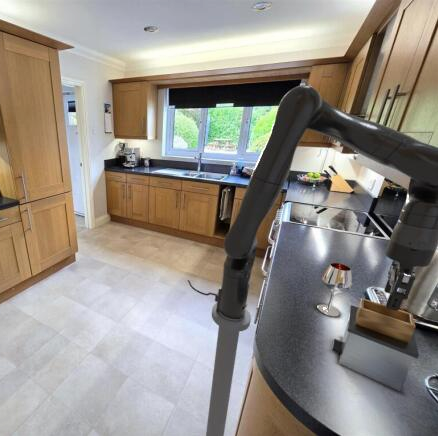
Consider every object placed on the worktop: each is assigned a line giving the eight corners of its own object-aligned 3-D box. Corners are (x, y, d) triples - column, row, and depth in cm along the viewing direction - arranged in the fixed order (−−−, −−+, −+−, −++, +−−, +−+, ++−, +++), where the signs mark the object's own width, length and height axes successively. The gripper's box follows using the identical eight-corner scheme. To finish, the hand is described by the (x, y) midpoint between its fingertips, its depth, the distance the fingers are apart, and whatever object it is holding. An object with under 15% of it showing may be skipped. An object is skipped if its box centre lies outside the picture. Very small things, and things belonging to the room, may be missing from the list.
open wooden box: (355, 323, 65) (360, 308, 64) (356, 312, 69) (361, 297, 68) (408, 343, 59) (415, 326, 57) (405, 329, 63) (412, 313, 62)
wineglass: (338, 307, 90) (351, 264, 85) (345, 321, 83) (359, 275, 78) (313, 301, 93) (323, 259, 88) (317, 314, 86) (328, 269, 81)
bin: (330, 360, 68) (340, 325, 64) (334, 334, 77) (344, 302, 74) (402, 393, 59) (419, 355, 55) (397, 360, 68) (412, 325, 65)
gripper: (389, 230, 64) (370, 283, 69) (392, 246, 54) (371, 307, 59) (431, 237, 59) (408, 294, 64) (443, 257, 49) (415, 322, 54)
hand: (390, 300), depth 62 cm, fingers open, 8 cm apart
